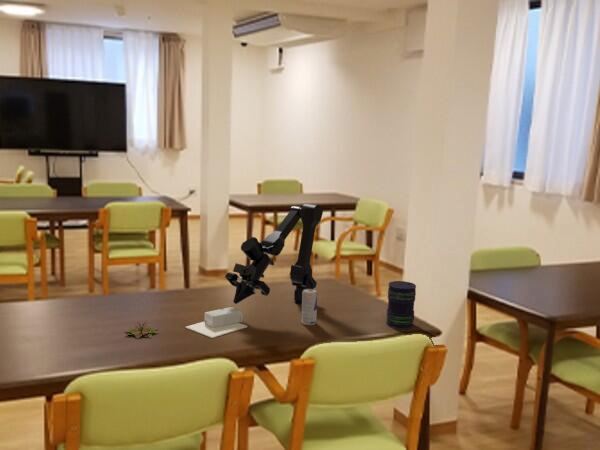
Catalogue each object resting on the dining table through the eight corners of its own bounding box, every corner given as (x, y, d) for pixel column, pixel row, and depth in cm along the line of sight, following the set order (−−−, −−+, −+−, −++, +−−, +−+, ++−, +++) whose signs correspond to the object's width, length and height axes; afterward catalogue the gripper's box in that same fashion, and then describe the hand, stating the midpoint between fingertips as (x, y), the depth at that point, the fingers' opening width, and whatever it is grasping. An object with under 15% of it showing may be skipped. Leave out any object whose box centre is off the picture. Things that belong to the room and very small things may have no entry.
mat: (220, 317, 218) (220, 316, 218) (247, 327, 209) (247, 326, 209) (185, 327, 207) (185, 326, 207) (212, 338, 198) (212, 337, 197)
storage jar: (396, 330, 211) (399, 289, 209) (380, 322, 220) (382, 282, 217) (419, 327, 216) (422, 286, 213) (402, 318, 224) (405, 280, 222)
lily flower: (129, 327, 206) (128, 314, 206) (163, 329, 206) (163, 316, 206) (118, 340, 195) (117, 326, 194) (154, 341, 194) (154, 327, 194)
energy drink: (318, 321, 217) (319, 289, 215) (313, 326, 212) (314, 293, 210) (304, 319, 219) (305, 288, 217) (299, 324, 214) (300, 291, 212)
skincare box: (243, 310, 213) (213, 315, 205) (242, 322, 213) (212, 328, 206) (233, 306, 217) (204, 311, 210) (233, 318, 218) (203, 323, 210)
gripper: (228, 250, 220) (205, 285, 214) (265, 259, 208) (241, 296, 202) (244, 268, 227) (221, 302, 221) (280, 277, 215) (257, 313, 209)
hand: (234, 303), depth 213 cm, fingers closed
